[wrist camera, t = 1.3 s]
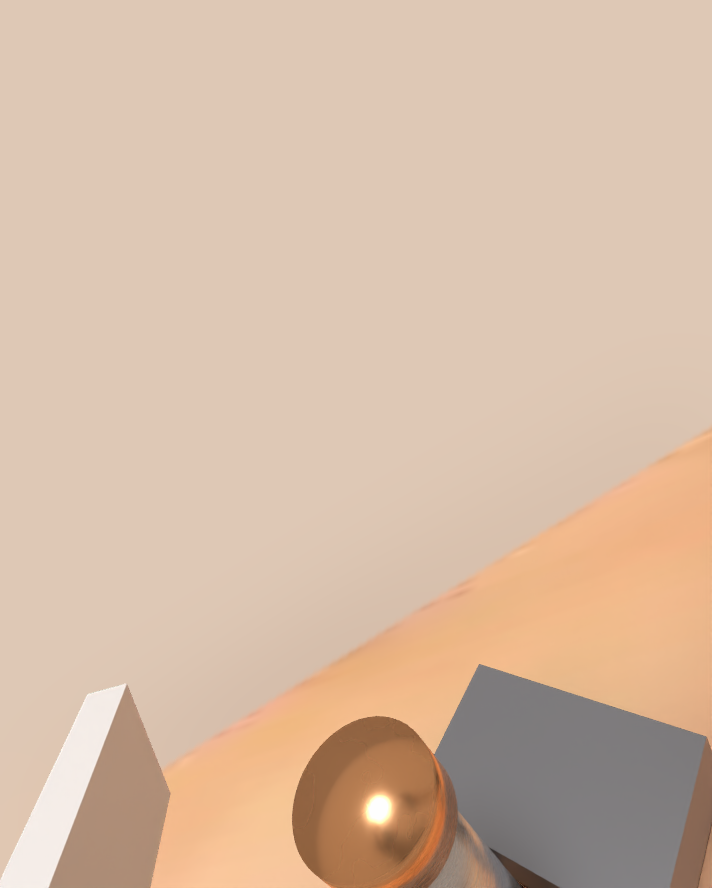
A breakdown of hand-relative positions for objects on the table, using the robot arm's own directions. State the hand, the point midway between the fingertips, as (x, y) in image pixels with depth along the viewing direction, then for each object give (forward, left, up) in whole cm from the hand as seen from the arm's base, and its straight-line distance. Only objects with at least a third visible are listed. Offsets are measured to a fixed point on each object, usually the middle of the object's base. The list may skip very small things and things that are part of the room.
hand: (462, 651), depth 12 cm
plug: (+2, -7, -24) cm, 25 cm away
